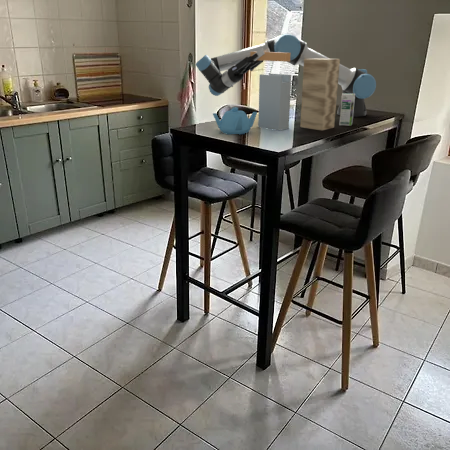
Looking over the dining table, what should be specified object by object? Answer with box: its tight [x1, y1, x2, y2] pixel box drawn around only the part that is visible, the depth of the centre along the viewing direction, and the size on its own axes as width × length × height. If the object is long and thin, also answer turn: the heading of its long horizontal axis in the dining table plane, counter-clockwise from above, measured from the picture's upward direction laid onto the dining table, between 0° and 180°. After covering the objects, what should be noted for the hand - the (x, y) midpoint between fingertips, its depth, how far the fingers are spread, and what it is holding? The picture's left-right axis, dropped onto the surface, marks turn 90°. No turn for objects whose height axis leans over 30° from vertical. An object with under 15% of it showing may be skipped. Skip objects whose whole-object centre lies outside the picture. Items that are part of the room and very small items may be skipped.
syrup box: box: [338, 93, 355, 127], centre depth 218 cm, size 6×6×14 cm
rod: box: [250, 52, 291, 63], centre depth 204 cm, size 4×20×4 cm, turn 46°
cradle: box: [257, 73, 292, 131], centre depth 210 cm, size 8×12×24 cm, turn 46°
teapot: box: [212, 106, 258, 135], centre depth 203 cm, size 15×15×11 cm
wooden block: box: [300, 58, 341, 131], centre depth 209 cm, size 10×12×30 cm
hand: (266, 50), depth 205 cm, fingers closed on rod, 3 cm apart
